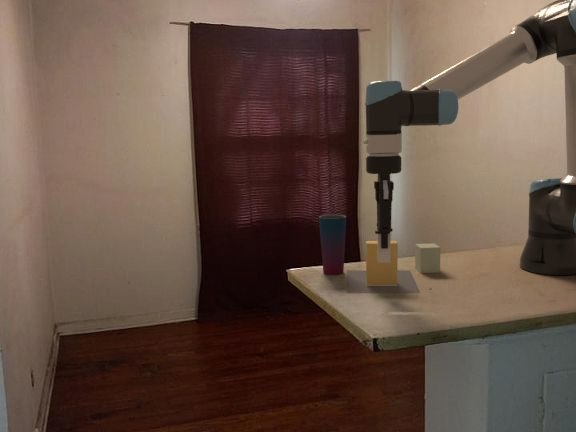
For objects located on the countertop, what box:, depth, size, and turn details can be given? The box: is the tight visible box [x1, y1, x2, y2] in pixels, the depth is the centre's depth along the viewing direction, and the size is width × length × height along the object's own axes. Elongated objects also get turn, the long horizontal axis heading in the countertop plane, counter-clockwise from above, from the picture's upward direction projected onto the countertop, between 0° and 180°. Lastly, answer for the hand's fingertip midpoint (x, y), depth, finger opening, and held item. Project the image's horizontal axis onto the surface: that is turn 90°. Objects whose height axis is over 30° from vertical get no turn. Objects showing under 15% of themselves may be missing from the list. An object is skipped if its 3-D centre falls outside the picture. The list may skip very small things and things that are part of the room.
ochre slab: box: [365, 240, 398, 286], centre depth 137 cm, size 7×3×10 cm, turn 85°
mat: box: [346, 269, 421, 294], centre depth 141 cm, size 16×20×1 cm
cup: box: [318, 214, 347, 276], centre depth 149 cm, size 7×7×15 cm
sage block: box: [414, 242, 441, 274], centre depth 149 cm, size 5×5×7 cm
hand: (383, 261), depth 130 cm, fingers closed
